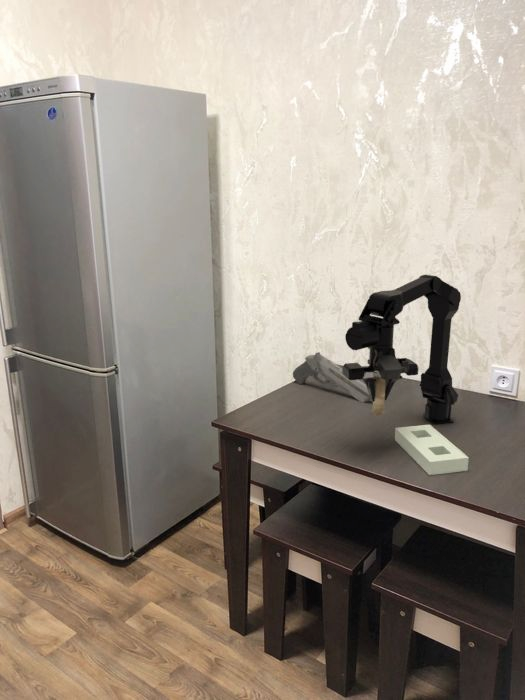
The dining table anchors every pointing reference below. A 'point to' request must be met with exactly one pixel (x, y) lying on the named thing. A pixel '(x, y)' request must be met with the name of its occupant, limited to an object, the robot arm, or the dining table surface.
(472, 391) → the dining table surface
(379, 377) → the dowel
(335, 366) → the handgun
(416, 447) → the socket block
